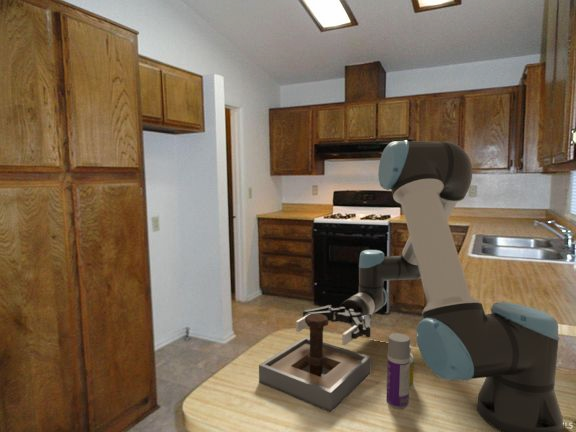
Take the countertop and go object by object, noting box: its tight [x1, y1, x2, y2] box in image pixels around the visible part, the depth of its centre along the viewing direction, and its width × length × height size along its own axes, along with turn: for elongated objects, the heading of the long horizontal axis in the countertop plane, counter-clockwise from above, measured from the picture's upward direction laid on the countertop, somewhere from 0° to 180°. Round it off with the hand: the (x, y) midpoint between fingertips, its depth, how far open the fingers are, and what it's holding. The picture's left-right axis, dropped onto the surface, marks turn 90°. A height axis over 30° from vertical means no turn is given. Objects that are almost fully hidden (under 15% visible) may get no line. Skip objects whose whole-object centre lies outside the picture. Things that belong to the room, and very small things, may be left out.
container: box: [385, 332, 411, 410], centre depth 83 cm, size 5×5×15 cm
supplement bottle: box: [409, 344, 415, 389], centre depth 91 cm, size 5×5×10 cm
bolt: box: [305, 314, 329, 377], centre depth 94 cm, size 6×5×15 cm
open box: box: [258, 336, 372, 413], centre depth 94 cm, size 20×20×4 cm
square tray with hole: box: [270, 343, 361, 389], centre depth 94 cm, size 18×18×3 cm
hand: (319, 332), depth 95 cm, fingers open, 13 cm apart
